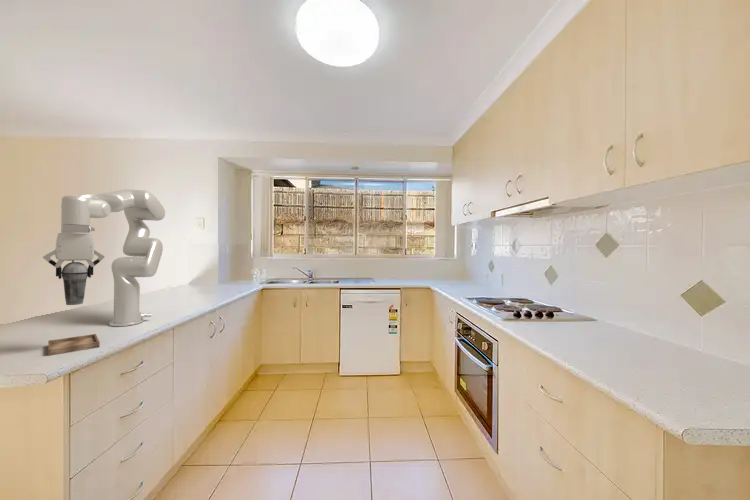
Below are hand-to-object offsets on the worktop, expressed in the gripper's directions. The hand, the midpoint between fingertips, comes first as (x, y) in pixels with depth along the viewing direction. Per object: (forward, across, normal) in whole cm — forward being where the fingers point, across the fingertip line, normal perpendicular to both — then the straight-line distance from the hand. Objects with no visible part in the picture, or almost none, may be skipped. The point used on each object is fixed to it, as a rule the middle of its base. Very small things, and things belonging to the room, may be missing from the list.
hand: (75, 277), depth 113 cm
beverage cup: (+10, 0, 0) cm, 10 cm away
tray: (+26, 0, 0) cm, 26 cm away
